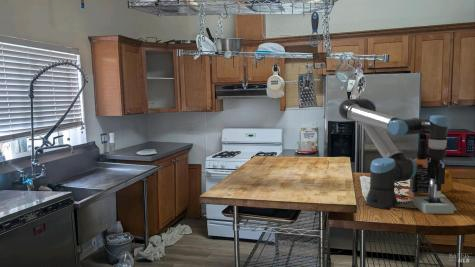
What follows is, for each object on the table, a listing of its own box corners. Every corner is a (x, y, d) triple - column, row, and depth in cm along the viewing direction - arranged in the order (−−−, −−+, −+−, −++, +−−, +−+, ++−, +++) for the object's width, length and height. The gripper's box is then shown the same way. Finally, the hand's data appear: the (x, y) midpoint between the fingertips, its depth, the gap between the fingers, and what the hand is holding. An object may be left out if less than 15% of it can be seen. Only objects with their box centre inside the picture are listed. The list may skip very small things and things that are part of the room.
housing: (424, 215, 169) (425, 205, 168) (413, 206, 182) (413, 196, 181) (453, 215, 168) (454, 205, 168) (439, 206, 181) (440, 196, 181)
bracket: (441, 187, 216) (442, 167, 214) (453, 190, 209) (454, 170, 208) (428, 189, 212) (429, 169, 210) (439, 192, 205) (441, 172, 204)
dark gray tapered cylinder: (431, 208, 173) (432, 180, 171) (426, 205, 178) (427, 177, 176) (441, 208, 172) (443, 180, 171) (436, 205, 177) (438, 177, 176)
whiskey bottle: (407, 194, 202) (410, 138, 198) (427, 195, 200) (430, 138, 196) (411, 200, 192) (414, 140, 188) (432, 201, 190) (435, 141, 186)
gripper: (455, 151, 162) (452, 201, 165) (436, 144, 180) (433, 190, 183) (438, 151, 163) (435, 201, 166) (420, 145, 181) (418, 190, 183)
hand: (434, 195), depth 174 cm, fingers closed on dark gray tapered cylinder, 5 cm apart
